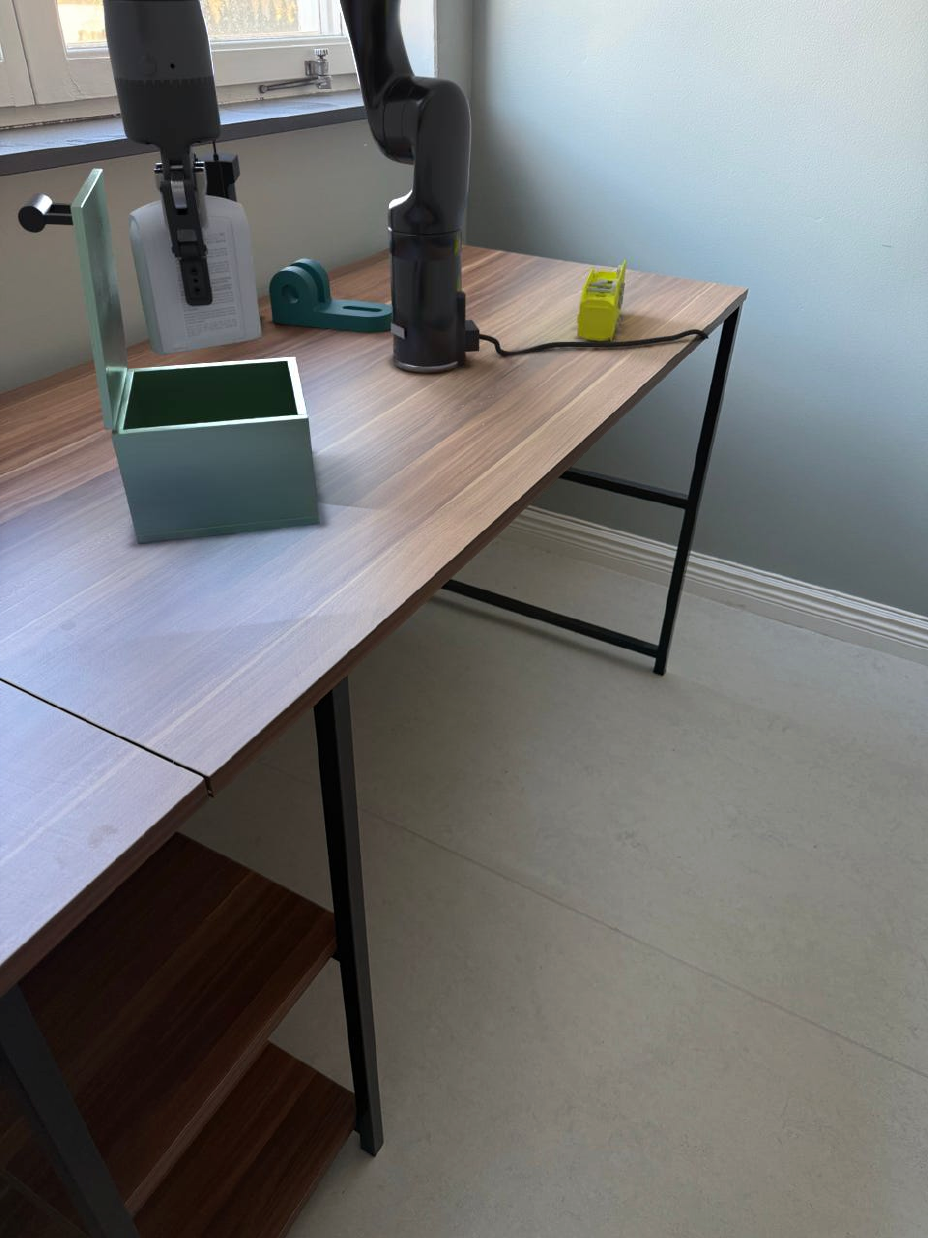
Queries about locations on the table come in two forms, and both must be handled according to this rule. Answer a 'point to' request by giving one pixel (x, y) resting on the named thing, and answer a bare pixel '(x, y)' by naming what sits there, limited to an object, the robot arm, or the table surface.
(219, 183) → the portable radio
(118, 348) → the lid
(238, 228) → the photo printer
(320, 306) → the bracket
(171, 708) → the table surface
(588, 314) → the yellow toy chassis
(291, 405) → the box
